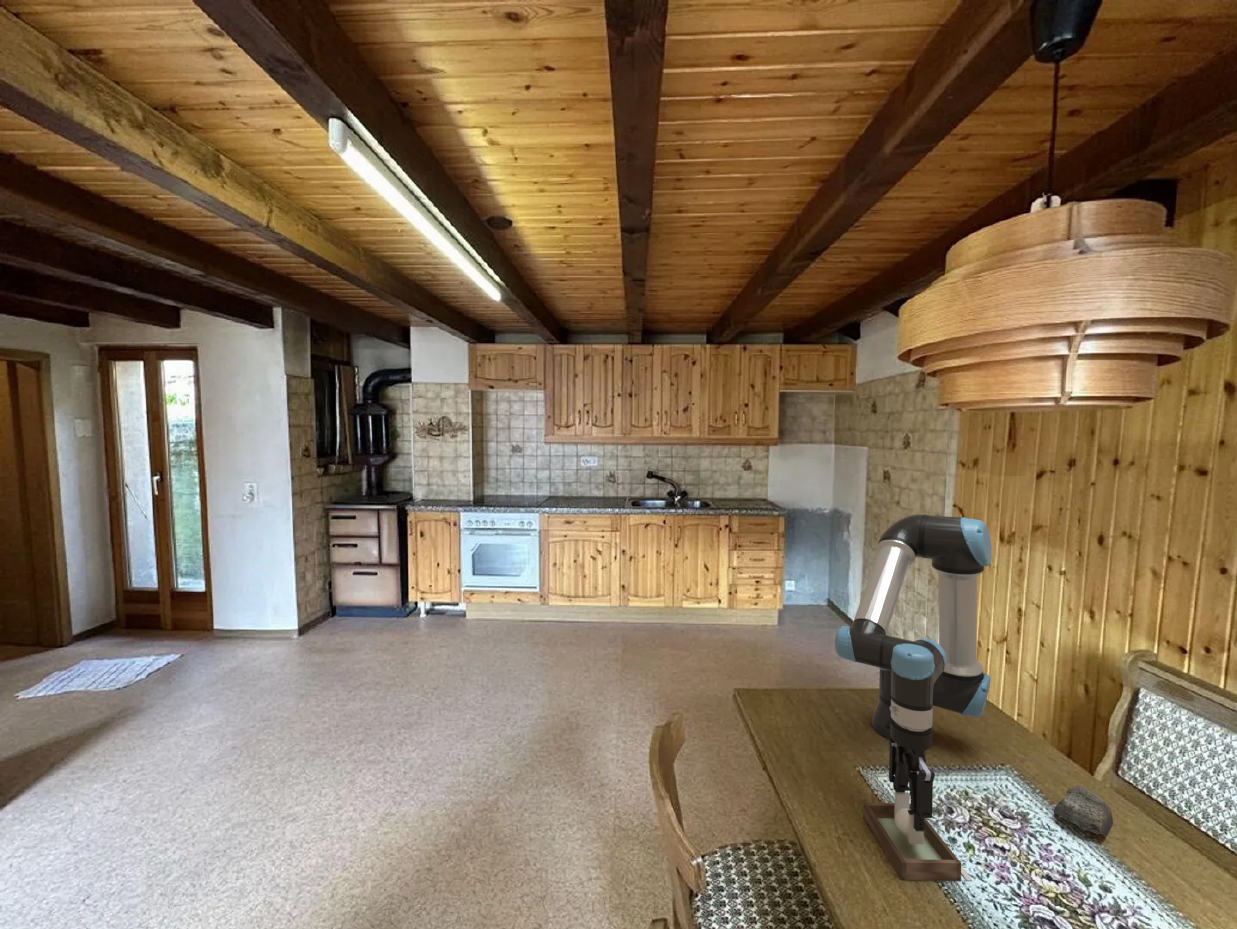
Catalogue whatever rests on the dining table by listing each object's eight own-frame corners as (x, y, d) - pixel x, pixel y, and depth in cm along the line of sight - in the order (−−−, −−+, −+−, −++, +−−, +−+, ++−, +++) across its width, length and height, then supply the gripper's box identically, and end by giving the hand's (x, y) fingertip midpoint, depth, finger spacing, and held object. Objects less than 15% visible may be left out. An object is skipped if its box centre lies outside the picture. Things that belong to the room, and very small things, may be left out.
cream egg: (913, 826, 112) (914, 803, 112) (926, 843, 108) (927, 819, 107) (890, 825, 112) (890, 802, 112) (902, 843, 108) (902, 819, 107)
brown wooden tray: (913, 818, 118) (913, 803, 118) (960, 881, 102) (961, 863, 102) (863, 818, 119) (863, 803, 118) (901, 880, 102) (902, 862, 102)
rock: (1099, 848, 110) (1100, 817, 110) (1047, 824, 117) (1048, 795, 117) (1115, 821, 118) (1116, 792, 118) (1066, 800, 125) (1066, 773, 125)
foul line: (923, 818, 118) (923, 817, 118) (971, 881, 102) (971, 880, 102) (918, 818, 118) (918, 817, 118) (966, 881, 102) (966, 879, 102)
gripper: (872, 701, 118) (870, 803, 119) (916, 747, 100) (913, 867, 101) (906, 701, 118) (904, 803, 119) (956, 747, 100) (953, 867, 101)
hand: (908, 832), depth 110 cm, fingers closed on cream egg, 5 cm apart
